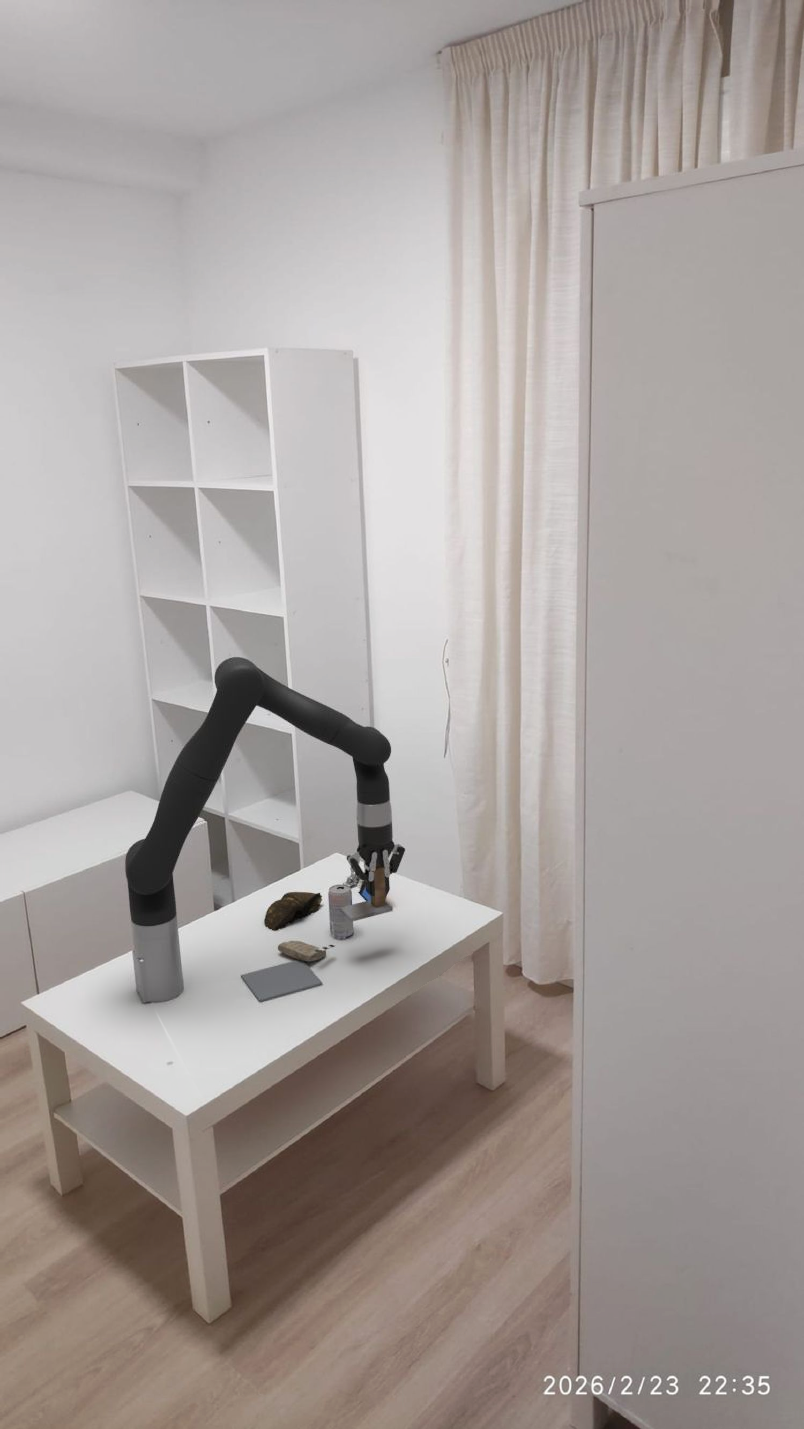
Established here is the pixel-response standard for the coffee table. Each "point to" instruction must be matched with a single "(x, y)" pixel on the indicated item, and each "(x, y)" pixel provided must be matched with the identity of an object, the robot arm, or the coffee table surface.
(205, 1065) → the coffee table surface
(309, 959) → the cuneiform tablet
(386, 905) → the trowel
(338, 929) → the energy drink
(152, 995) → the robot arm
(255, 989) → the slate mat
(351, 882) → the house of cards
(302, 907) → the seashell
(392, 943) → the coffee table surface
